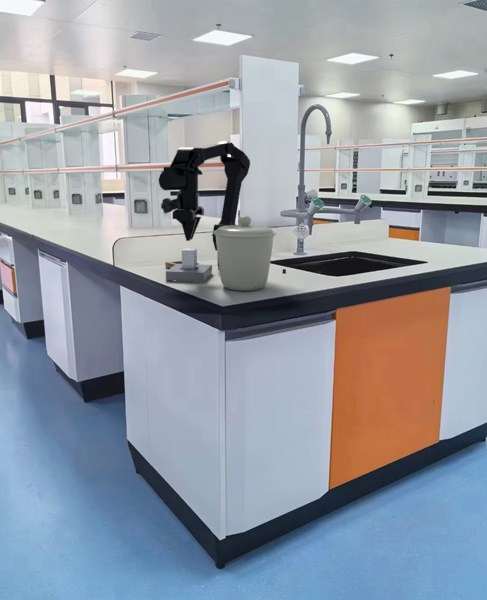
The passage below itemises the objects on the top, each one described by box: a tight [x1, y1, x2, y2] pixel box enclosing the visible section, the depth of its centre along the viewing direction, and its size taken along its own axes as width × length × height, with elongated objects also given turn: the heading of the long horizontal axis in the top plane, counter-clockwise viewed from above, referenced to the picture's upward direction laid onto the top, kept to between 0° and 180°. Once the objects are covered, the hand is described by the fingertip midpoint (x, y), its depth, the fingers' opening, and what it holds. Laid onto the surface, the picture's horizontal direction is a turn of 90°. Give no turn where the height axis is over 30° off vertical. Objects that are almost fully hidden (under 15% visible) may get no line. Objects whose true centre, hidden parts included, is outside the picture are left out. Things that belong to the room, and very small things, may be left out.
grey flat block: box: [165, 264, 213, 283], centre depth 169 cm, size 12×14×3 cm
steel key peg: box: [181, 248, 198, 270], centre depth 168 cm, size 4×4×9 cm
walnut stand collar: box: [164, 259, 200, 269], centre depth 184 cm, size 8×8×2 cm
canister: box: [212, 215, 277, 292], centre depth 153 cm, size 18×18×21 cm
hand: (189, 240), depth 166 cm, fingers open, 3 cm apart
